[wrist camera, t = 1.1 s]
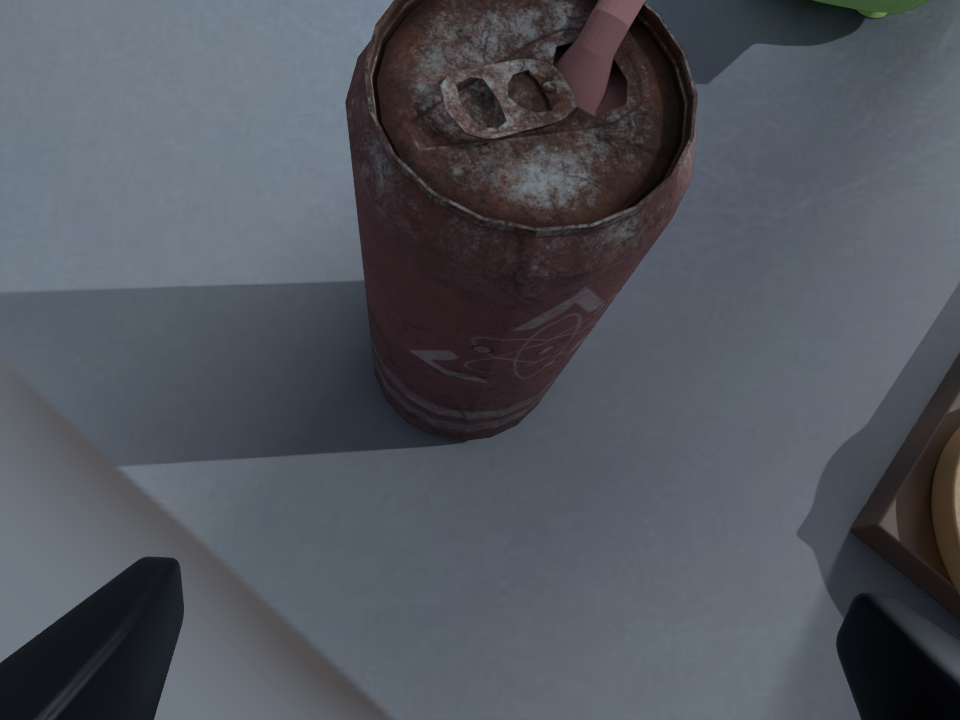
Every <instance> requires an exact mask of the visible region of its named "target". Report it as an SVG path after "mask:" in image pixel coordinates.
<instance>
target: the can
mask: <svg viewBox="0 0 960 720" xmlns="http://www.w3.org/2000/svg"><path fill="white" fill-rule="evenodd" d="M696 107H697V91H696V88H695V84H694V81H693V77H692V74H691V71H690V67H689V64H688V60H687V57H686V53H685V52H684V50H683V49H682V47H681V46H680V44H679V43H678V41H677V40H676V38H675V37H674V35H673V34H672V32H671V31H670V29H669V28H668V26H667V25H666V23H665V22H664V20H663V19H662V17H661V16H660V15H659V14H658V13H657V12H656V11H655V10H653V9H652V8H651V7H650V6H649V5H647V4H646V3H645V0H394V1H393V3H392V4H391V5H390V7H389V8H388V9H387V10H386V12H385V13H384V14H383V16H382V17H381V18H380V20H379V21H378V22H377V24H376V25H375V29H374V32H373V36H372V40H371V41H370V42H369V44H368V45H367V46H366V47H365V49H364V50H363V51H362V53H361V54H360V55H359V57H358V59H357V63H356V67H355V70H354V74H353V77H352V81H351V84H350V88H349V91H348V95H347V98H346V112H347V121H348V131H349V140H350V150H351V159H352V168H353V177H354V187H355V196H356V205H357V214H358V223H359V233H360V242H361V251H362V260H363V269H364V279H365V288H366V297H367V306H368V315H369V325H370V334H371V343H372V352H373V361H374V371H375V376H376V378H377V380H378V382H379V384H380V387H381V389H382V391H383V393H384V395H385V397H386V399H387V401H388V402H389V403H390V404H391V405H392V406H393V407H394V408H395V409H396V410H397V411H398V412H399V414H400V415H401V416H402V417H403V418H404V419H405V420H406V421H407V422H409V423H411V424H413V425H415V426H417V427H418V428H420V429H422V430H424V431H426V432H428V433H430V434H431V435H434V436H439V437H445V438H450V439H455V440H460V441H464V440H472V439H480V438H488V437H492V436H494V435H496V434H498V433H501V432H503V431H505V430H507V429H509V428H511V427H513V426H515V425H517V424H518V423H519V422H520V421H521V420H522V419H523V418H524V417H525V416H526V415H527V414H528V413H530V412H531V411H532V410H533V409H534V408H535V407H536V406H537V404H538V403H539V402H540V400H541V399H542V397H543V396H544V395H545V393H546V392H547V391H548V389H549V388H550V386H551V385H552V384H553V382H554V381H555V379H556V378H557V377H558V375H559V374H560V373H561V371H562V370H563V368H564V367H565V366H566V364H567V363H568V361H569V360H570V359H571V357H572V356H573V355H574V353H575V352H576V350H577V349H578V348H579V346H580V345H581V344H582V342H583V341H584V339H585V338H586V337H587V335H588V334H589V332H590V331H591V330H592V328H593V327H594V326H595V324H596V323H597V321H598V320H599V319H600V317H601V316H602V314H603V313H604V312H605V310H606V309H607V308H608V306H609V305H610V303H611V302H612V301H613V299H614V298H615V297H616V295H617V294H618V292H619V291H620V290H621V288H622V287H623V285H624V284H625V283H626V281H627V280H628V279H629V277H630V276H631V274H632V273H633V272H634V270H635V269H636V267H637V266H638V265H639V263H640V262H641V261H642V259H643V258H644V256H645V255H646V254H647V252H648V251H649V249H650V248H651V247H652V245H653V244H654V243H655V241H656V240H657V238H658V237H659V236H660V234H661V233H662V232H663V230H664V229H665V227H666V226H667V225H668V223H669V222H670V220H671V219H672V218H673V216H674V214H675V211H676V209H677V207H678V205H679V203H680V201H681V199H682V197H683V195H684V193H685V191H686V189H687V187H688V185H689V183H690V181H691V179H692V177H693V169H694V156H695V143H696V123H695V120H696Z"/></svg>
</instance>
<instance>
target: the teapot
mask: <svg viewBox="0 0 960 720" xmlns="http://www.w3.org/2000/svg"><path fill="white" fill-rule="evenodd" d="M814 1H818V2H822V3H827V4H831V5H836V6H841V7H847V8H852V9H855V10H857V11H858V12H859V13H861V14H862V15H864V16H867V17H871V18H879V17H883V16H885V15H886V14H887V13H903V12H905V11H908V10H910V9H913V8H915V7H918V6H920V5H922V4H924V3H927V2H929V1H931V0H814Z"/></svg>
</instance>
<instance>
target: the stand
mask: <svg viewBox="0 0 960 720" xmlns="http://www.w3.org/2000/svg"><path fill="white" fill-rule="evenodd" d="M851 531H853V532H854V533H855V534H856V535H858V536H859V537H860V538H861V539H862V540H864V541H865V542H866V543H867V544H869V545H870V546H871V547H872V548H873V549H875V550H876V551H877V552H878V553H880V554H881V555H882V556H883V557H884V558H886V559H887V560H888V561H889V562H891V563H892V564H893V565H894V566H895V567H897V568H898V569H899V570H900V571H902V572H903V573H904V574H905V575H906V576H908V577H909V578H910V579H911V580H913V581H914V582H915V583H916V584H917V585H919V586H920V587H921V588H922V589H924V590H925V591H926V592H927V593H928V594H930V595H931V596H932V597H933V598H935V599H936V600H937V601H938V602H939V603H941V604H942V605H943V606H944V607H946V608H947V609H948V610H949V611H950V612H952V613H953V614H954V615H955V616H957V617H958V618H959V619H960V354H959V355H958V357H957V359H956V360H955V362H954V363H953V365H952V367H951V368H950V370H949V371H948V373H947V375H946V376H945V378H944V379H943V381H942V383H941V384H940V386H939V387H938V389H937V391H936V392H935V394H934V395H933V397H932V399H931V400H930V402H929V403H928V405H927V407H926V408H925V410H924V411H923V413H922V415H921V416H920V418H919V419H918V421H917V423H916V424H915V426H914V428H913V429H912V431H911V432H910V434H909V436H908V437H907V439H906V440H905V442H904V444H903V445H902V447H901V448H900V450H899V452H898V453H897V455H896V456H895V458H894V460H893V461H892V463H891V464H890V466H889V468H888V469H887V471H886V472H885V474H884V476H883V477H882V479H881V480H880V482H879V484H878V485H877V487H876V488H875V490H874V492H873V493H872V495H871V496H870V498H869V500H868V501H867V503H866V504H865V506H864V508H863V509H862V511H861V512H860V514H859V516H858V517H857V519H856V521H855V522H854V524H853V525H852V527H851Z"/></svg>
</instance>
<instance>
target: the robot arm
mask: <svg viewBox="0 0 960 720" xmlns="http://www.w3.org/2000/svg"><path fill="white" fill-rule="evenodd" d="M183 614H184V602H183V592H182V581H181V571H180V565H179V563H178V561H177V560H176V559H174V558H166V557H144V558H141V559H139V560H138V561H137V562H135V563H134V564H132V565H131V566H130V567H128V568H127V569H126V570H124V571H123V572H122V573H120V574H119V575H118V576H116V577H115V578H114V579H112V580H111V581H110V582H108V583H107V584H106V585H104V586H103V587H101V588H100V589H99V590H97V591H96V592H95V593H93V594H92V595H91V596H89V597H88V598H87V599H85V600H84V601H83V602H81V603H80V604H79V605H77V606H76V607H75V608H73V609H72V610H71V611H69V612H68V613H67V614H65V615H64V616H63V617H61V618H60V619H59V620H57V621H56V622H55V623H53V624H52V625H50V626H49V627H48V628H46V629H45V630H44V631H43V632H41V633H40V634H38V635H37V636H36V637H35V638H33V639H32V640H30V641H29V642H28V643H26V644H25V645H24V646H22V647H21V648H20V649H18V650H17V651H16V652H14V653H13V654H12V655H10V656H9V657H8V658H6V659H5V660H4V661H2V662H1V663H0V720H154V716H155V714H156V710H157V707H158V703H159V700H160V697H161V693H162V690H163V687H164V683H165V680H166V677H167V673H168V670H169V666H170V663H171V660H172V656H173V653H174V650H175V646H176V643H177V640H178V636H179V633H180V629H181V626H182V621H183ZM836 646H837V652H838V656H839V659H840V662H841V664H842V667H843V670H844V673H845V676H846V678H847V681H848V684H849V687H850V689H851V692H852V695H853V698H854V701H855V703H856V706H857V709H858V712H859V714H860V717H861V720H960V640H958V639H957V638H955V637H954V636H952V635H951V634H949V633H948V632H946V631H945V630H943V629H942V628H940V627H939V626H937V625H936V624H934V623H933V622H931V621H930V620H928V619H927V618H925V617H924V616H922V615H921V614H919V613H918V612H916V611H915V610H913V609H912V608H910V607H909V606H907V605H906V604H904V603H902V602H901V601H899V600H898V599H896V598H895V597H893V596H891V595H888V594H880V593H860V594H858V595H857V596H856V597H855V598H854V599H853V601H852V603H851V605H850V608H849V610H848V612H847V614H846V617H845V619H844V621H843V623H842V625H841V628H840V630H839V632H838V635H837V641H836Z"/></svg>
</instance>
